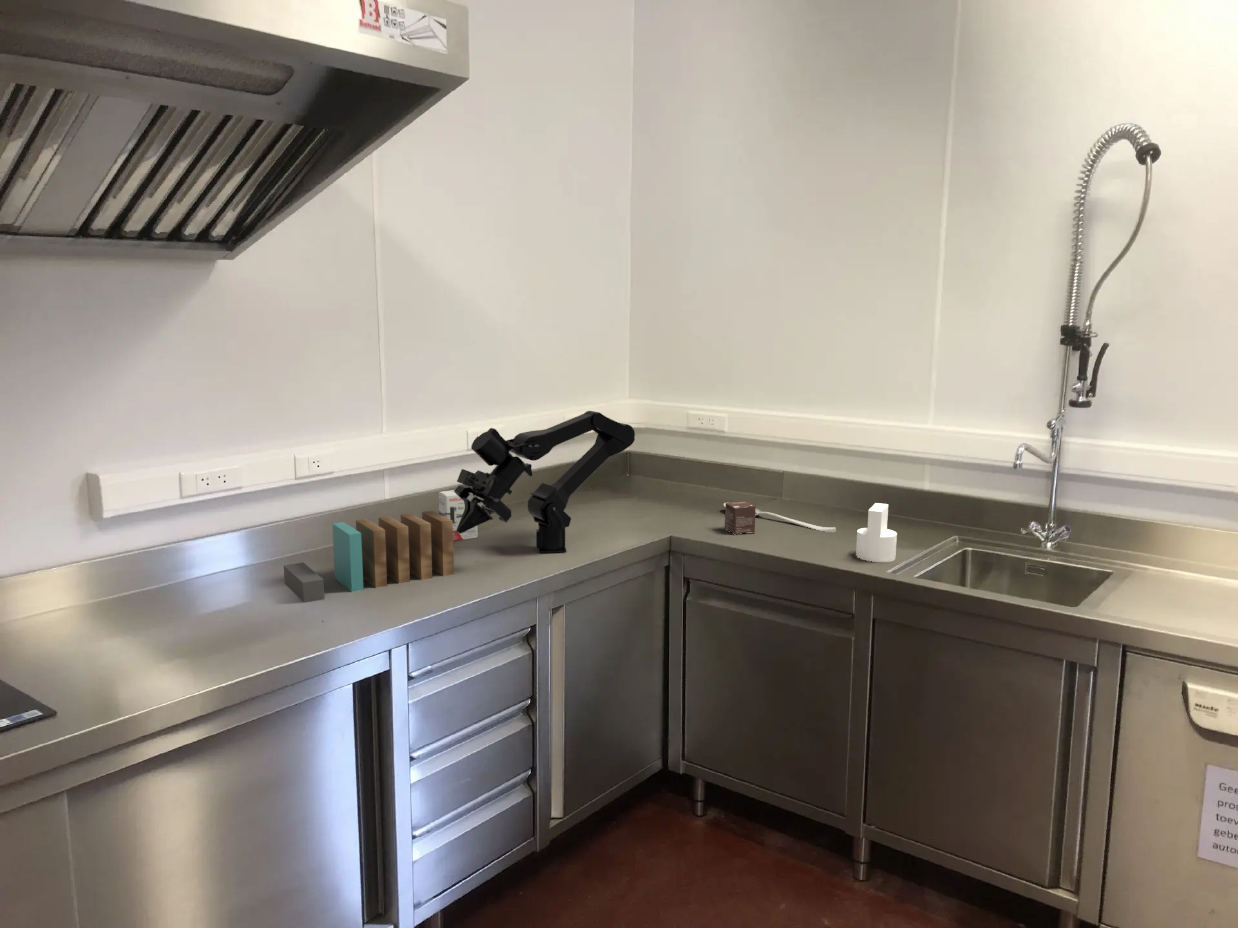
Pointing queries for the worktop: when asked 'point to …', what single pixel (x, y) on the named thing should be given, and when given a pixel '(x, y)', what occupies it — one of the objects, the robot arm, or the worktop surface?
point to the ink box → (455, 513)
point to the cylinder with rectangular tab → (876, 537)
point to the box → (740, 517)
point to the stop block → (304, 582)
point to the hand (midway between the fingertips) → (458, 532)
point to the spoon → (797, 522)
